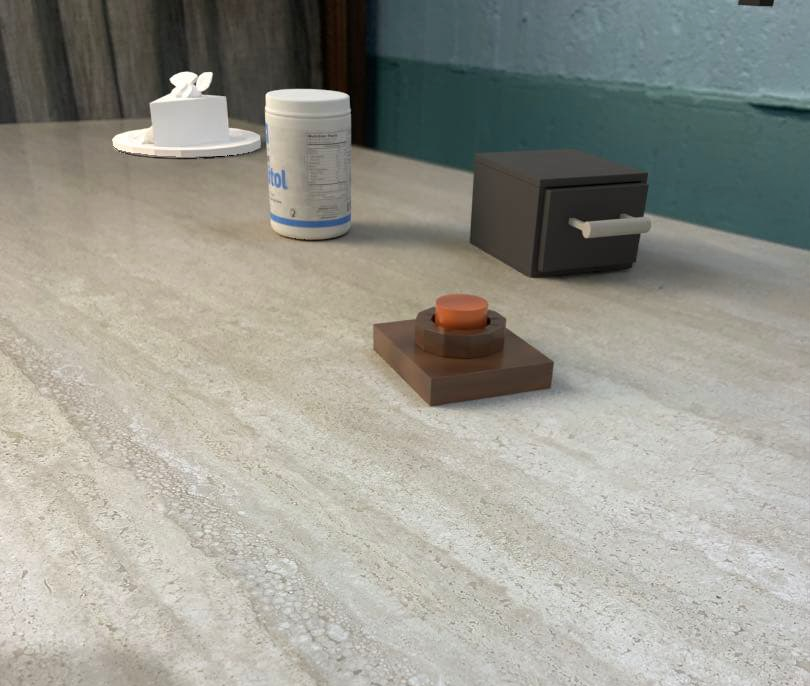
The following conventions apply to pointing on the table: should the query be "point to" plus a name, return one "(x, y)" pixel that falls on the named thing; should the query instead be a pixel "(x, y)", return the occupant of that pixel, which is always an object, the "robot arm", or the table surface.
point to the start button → (461, 312)
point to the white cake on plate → (189, 124)
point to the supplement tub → (309, 162)
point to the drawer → (592, 225)
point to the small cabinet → (531, 200)
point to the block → (461, 359)
